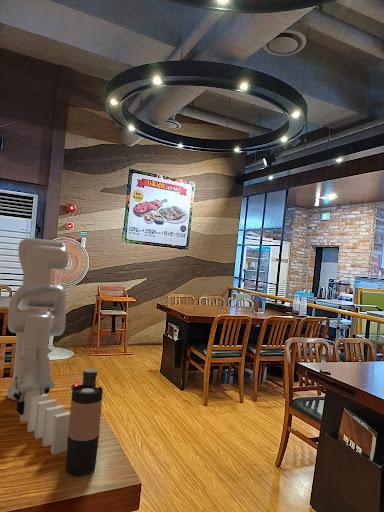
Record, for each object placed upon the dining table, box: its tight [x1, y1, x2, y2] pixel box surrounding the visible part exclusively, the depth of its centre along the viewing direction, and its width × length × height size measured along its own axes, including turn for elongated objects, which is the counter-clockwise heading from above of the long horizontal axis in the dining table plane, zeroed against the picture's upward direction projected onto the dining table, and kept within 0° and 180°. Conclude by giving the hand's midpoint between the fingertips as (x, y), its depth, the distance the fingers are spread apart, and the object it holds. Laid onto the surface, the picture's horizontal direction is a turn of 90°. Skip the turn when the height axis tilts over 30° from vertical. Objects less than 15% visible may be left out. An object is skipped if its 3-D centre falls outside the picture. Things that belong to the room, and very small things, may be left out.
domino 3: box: [33, 398, 57, 440], centre depth 112 cm, size 2×5×10 cm, turn 135°
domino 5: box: [50, 411, 70, 456], centre depth 104 cm, size 2×5×10 cm, turn 134°
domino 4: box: [41, 404, 66, 447], centre depth 108 cm, size 2×5×10 cm, turn 134°
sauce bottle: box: [81, 368, 98, 387], centre depth 112 cm, size 6×6×20 cm
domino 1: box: [19, 390, 40, 422], centre depth 120 cm, size 2×5×10 cm, turn 134°
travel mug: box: [65, 384, 103, 477], centre depth 96 cm, size 8×8×20 cm
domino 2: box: [26, 393, 49, 433], centre depth 116 cm, size 2×5×10 cm, turn 134°
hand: (29, 411), depth 120 cm, fingers closed on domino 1, 4 cm apart
